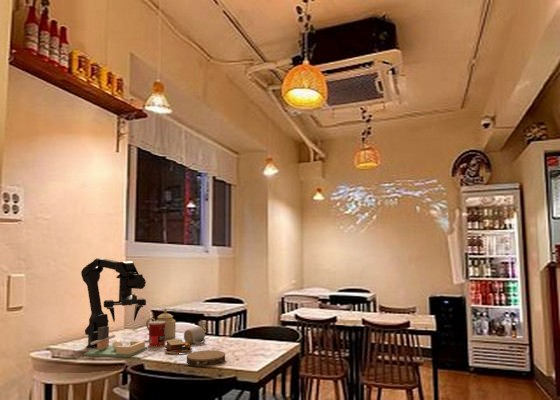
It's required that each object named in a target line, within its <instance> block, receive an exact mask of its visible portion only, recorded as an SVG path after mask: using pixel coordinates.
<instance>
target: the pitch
mask: <svg viewBox="0 0 560 400" xmlns="http://www.w3.org/2000/svg"><path fill="white" fill-rule="evenodd" d="M129 343H130V344H129V346H128V345H122V346H117V347H116V350H114V349H113V347H112V345H109V347H108V348H105V349H102V350H97V348H95V349H93V350H90V351H87V352H85V353H84V354H83V356H87V357H108V358H109V357H110V358H111V357H112V358H130V357H132V356H134V355H136V353H137V354H139V353H141V352H143V350H144V351H146V350H147V349H148V346H146V341H145V340H144V341H142V340H130V341H129ZM145 349H146V350H145Z"/></svg>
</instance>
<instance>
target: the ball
mask: <svg viewBox="0 0 560 400" xmlns="http://www.w3.org/2000/svg"><path fill="white" fill-rule="evenodd" d="M111 346H112V347H113V349H114V350H116V347H117V346H123V342H122V340H119V339H117V340H114V341H113V343H112V345H111Z"/></svg>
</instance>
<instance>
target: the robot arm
mask: <svg viewBox="0 0 560 400" xmlns="http://www.w3.org/2000/svg"><path fill="white" fill-rule="evenodd" d="M104 269H110V270H114V272H115V273H118V275H116V277H115V278H116V279H119V285H118V286H119V287H118V300H116V301H114V300H113V299H105V300H104V301H103V307H104V308H106V310H109V311H110V314H111V318H112V321H113V323H116V322H115V321H116V317H115V307H114V306H122V307H125V306H132V305H134V312H133V321H136V318H137V316H138V313H139V311H140V309H141V308H143V307H144V306H147V300H146V298H142V297H139V298H138V294H137V293H134V294H132V293H133V291H132V290H133V289H135V290H142V289H144V288H145V287H146V283H147V281H146V279H145V277H143V276H144V274H140V273H139V271H138V270H137V267H136V266H135V263H134V262H133V261H117V260H111V259H107V258H104V257H98V258H95V259H93V261H91V262H90V263H88V264H86V265H85V267H83V268H82V270H81V271H80V272H81V273H80V275H81V278H82V281H83V282H84V283H85V285H86V286H87V292H88V299H89V307H90V311H91V312H90V316H89V320H88V325H87V327H86V328H85V329H84V334H85V335H87V345H86V346H87V347H86V348H95V347H97V344H94V345H91V344H90V343H91V342H93V341H96V340H99V339H98V328H99V327H103V326H109V316H108V313H104V311H103V309H102V303H101V296H100V289H99V280H100V278H101V273H102V272H103V271H104Z"/></svg>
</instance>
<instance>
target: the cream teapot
mask: <svg viewBox="0 0 560 400" xmlns="http://www.w3.org/2000/svg"><path fill="white" fill-rule="evenodd" d="M173 317H174V315H172V314H170V313H168V310H167V308H164V309H163V313H161V314H159V315H158V316H157V319H155V318H153V317H149V318H148V319H146V321H145V322H146V323H145V326H146V330H147V331H149V322H150V321H151V320H152V321H165V340H166V339H172V338H173V339H174V337H176V324H177V323H176V319H174V318H173Z"/></svg>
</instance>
